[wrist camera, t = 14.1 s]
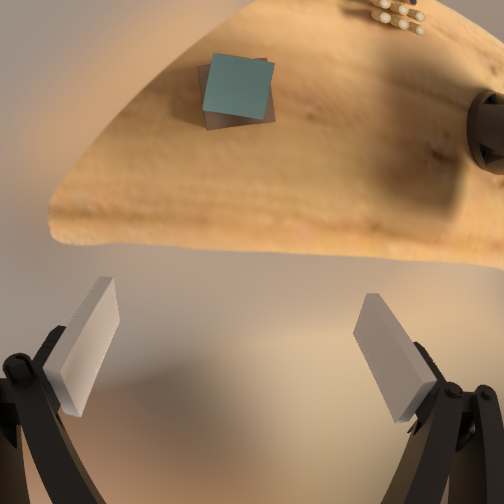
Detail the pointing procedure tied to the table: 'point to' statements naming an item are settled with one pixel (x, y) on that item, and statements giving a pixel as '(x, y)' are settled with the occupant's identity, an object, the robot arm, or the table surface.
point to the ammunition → (384, 2)
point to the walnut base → (229, 120)
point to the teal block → (238, 86)
